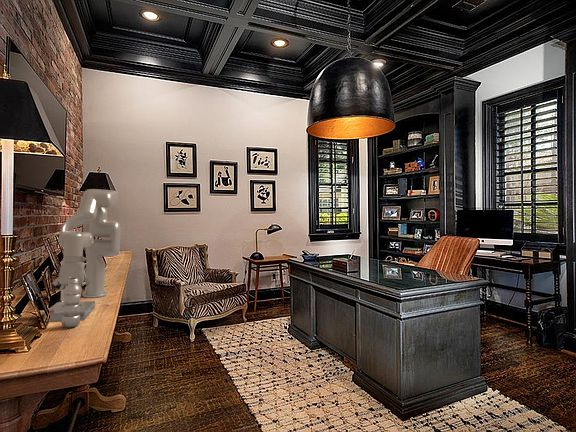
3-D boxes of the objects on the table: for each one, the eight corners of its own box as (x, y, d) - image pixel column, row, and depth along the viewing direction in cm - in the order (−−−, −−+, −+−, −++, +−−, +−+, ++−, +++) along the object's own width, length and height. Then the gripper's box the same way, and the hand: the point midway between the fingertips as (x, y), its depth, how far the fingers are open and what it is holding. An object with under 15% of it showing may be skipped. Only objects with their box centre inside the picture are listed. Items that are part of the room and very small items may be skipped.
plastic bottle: (57, 327, 146) (60, 278, 146) (74, 323, 152) (76, 276, 152) (67, 330, 143) (69, 280, 143) (83, 326, 149) (85, 278, 149)
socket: (57, 309, 171) (57, 301, 171) (94, 308, 176) (95, 300, 176) (42, 321, 152) (42, 312, 152) (84, 320, 157) (84, 311, 157)
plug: (67, 301, 169) (68, 285, 169) (81, 301, 171) (82, 285, 171) (60, 307, 159) (61, 290, 159) (75, 307, 160) (76, 290, 160)
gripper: (95, 258, 170) (93, 296, 170) (54, 258, 165) (52, 297, 165) (92, 261, 163) (90, 300, 163) (48, 260, 158) (46, 301, 158)
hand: (71, 298), depth 164 cm, fingers closed on plug, 6 cm apart
